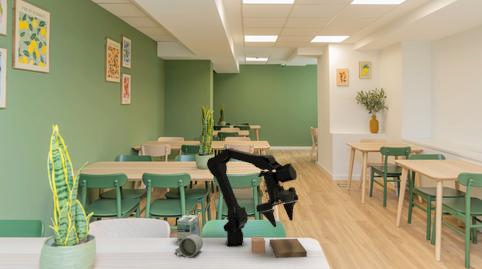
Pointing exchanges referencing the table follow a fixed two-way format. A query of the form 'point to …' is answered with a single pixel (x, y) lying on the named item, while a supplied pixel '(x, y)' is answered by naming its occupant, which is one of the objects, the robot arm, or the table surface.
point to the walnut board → (287, 248)
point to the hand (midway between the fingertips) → (283, 223)
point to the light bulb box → (187, 226)
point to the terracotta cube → (258, 245)
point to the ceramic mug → (190, 245)
